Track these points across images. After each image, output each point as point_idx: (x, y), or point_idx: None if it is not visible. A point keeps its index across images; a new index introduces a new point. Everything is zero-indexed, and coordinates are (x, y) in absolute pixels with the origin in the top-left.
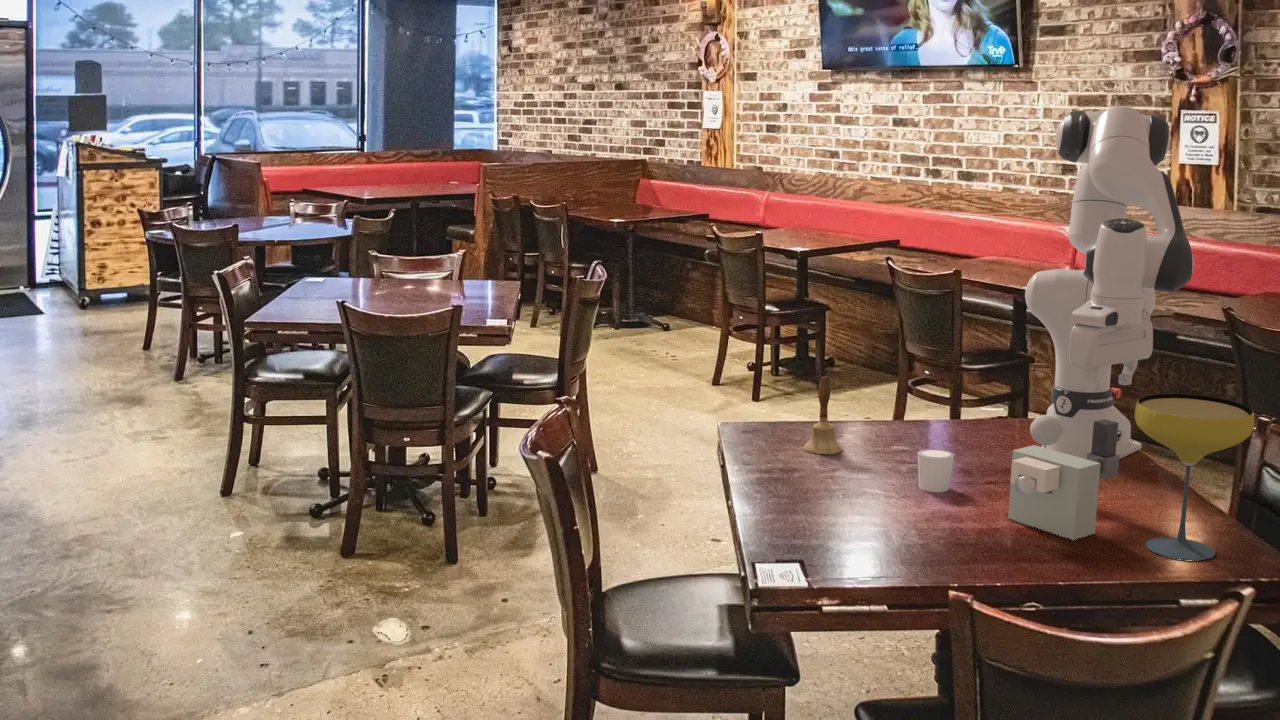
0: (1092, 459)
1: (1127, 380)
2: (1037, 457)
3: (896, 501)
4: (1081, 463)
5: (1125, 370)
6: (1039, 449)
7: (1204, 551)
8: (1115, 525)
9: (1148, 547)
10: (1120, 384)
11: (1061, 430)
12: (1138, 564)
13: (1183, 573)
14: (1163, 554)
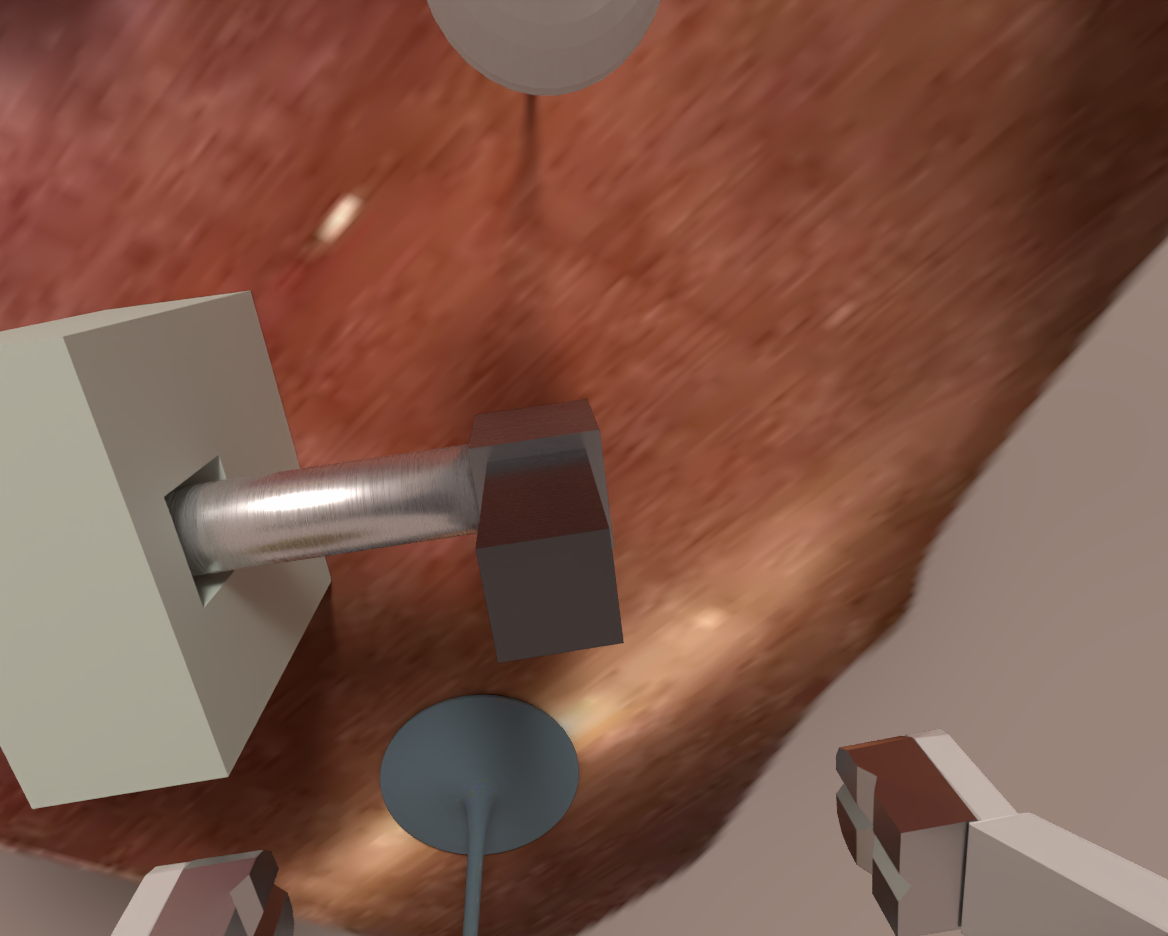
0: (440, 511)
1: (874, 887)
2: None
3: None
4: (114, 746)
5: (1039, 900)
6: (32, 438)
7: (509, 833)
8: (472, 547)
9: (392, 744)
10: (838, 760)
11: (586, 82)
12: (265, 809)
13: (338, 888)
14: (386, 798)
